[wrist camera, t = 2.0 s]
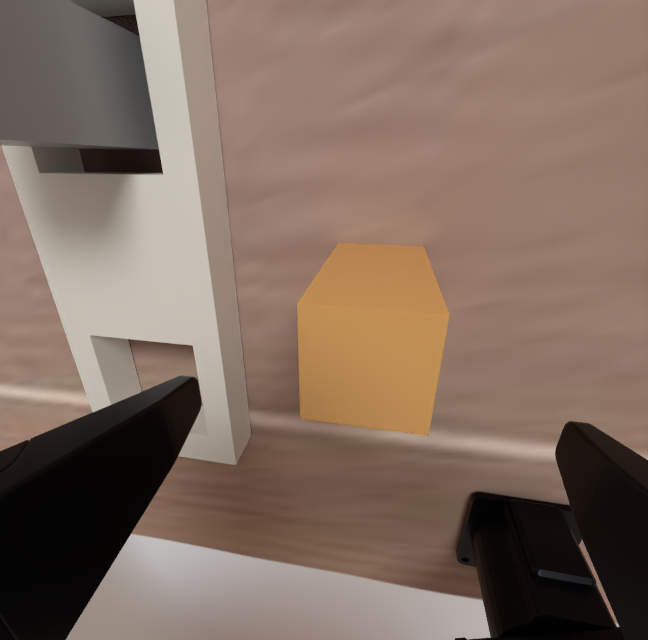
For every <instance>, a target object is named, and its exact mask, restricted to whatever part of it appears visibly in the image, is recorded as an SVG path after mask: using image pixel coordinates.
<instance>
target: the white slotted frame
mask: <svg viewBox="0 0 648 640" xmlns="http://www.w3.org/2000/svg"><path fill="white" fill-rule="evenodd" d="M69 1H71V2H73V3H75V4H77V5H78V6H80V7H82V8H84V9H86V10H88V11H90V12H92V13H94V14H96V15H98V16H100V17H108V16H123V15H136V18H137V24H138V30H139V36H140V42H141V47H142V53H143V59H144V65H145V71H146V77H147V82H148V88H149V94H150V100H151V106H152V111H153V117H154V123H155V129H156V135H157V141H158V146H159V152H160V158H161V164H162V170H163V173H131V172H85V170H84V167H83V163H82V159H81V155H80V151H79V149H70V148H48V147H27V146H5V145H1V146H2V149H3V152H4V155H5V158H6V160H7V163H8V166H9V169H10V172H11V175H12V178H13V181H14V184H15V187H16V190H17V193H18V196H19V198H20V201H21V204H22V207H23V210H24V213H25V216H26V219H27V222H28V225H29V228H30V231H31V234H32V237H33V239H34V242H35V245H36V248H37V251H38V254H39V257H40V260H41V263H42V266H43V269H44V272H45V275H46V278H47V280H48V283H49V286H50V289H51V292H52V295H53V298H54V301H55V304H56V307H57V310H58V313H59V316H60V319H61V321H62V324H63V327H64V330H65V333H66V336H67V339H68V342H69V345H70V348H71V351H72V354H73V357H74V360H75V362H76V365H77V368H78V371H79V374H80V377H81V380H82V383H83V386H84V389H85V392H86V395H87V398H88V401H89V403H90V406H91V409H92V412H95V411H97V410H100V409H102V408H105V407H107V406H109V405H112V404H114V403H116V402H119V401H121V400H124V399H126V398H128V397H131V396H133V395H135V394H138V393H140V392H142V391H141V387H140V383H139V379H138V375H137V371H136V368H135V364H134V360H133V356H132V352H131V348H130V344H129V340H128V339H133V340H142V341H152V342H162V343H172V344H182V345H192V346H193V350H194V356H195V362H196V367H197V373H198V379H199V385H200V391H201V397H202V402H203V406H202V405H201V410H200V412H199V414H198V416H197V418H196V420H195V423H194V425H193V427H192V429H191V431H190V433H189V435H188V437H187V439H186V441H185V443H184V445H183V447H182V449H181V451H180V453H179V455H178V456H181V457H187V458H193V459H200V460H206V461H212V462H219V463H225V464H231V465H236V464H237V462H238V460H239V459H240V457H241V455H242V453H243V451H244V449H245V447H246V445H247V443H248V441H249V439H250V437H251V427H250V418H249V408H248V398H247V389H246V379H245V369H244V360H243V350H242V341H241V331H240V321H239V312H238V302H237V292H236V283H235V273H234V264H233V254H232V244H231V235H230V225H229V215H228V206H227V196H226V187H225V177H224V167H223V158H222V148H221V138H220V129H219V119H218V109H217V100H216V90H215V81H214V71H213V61H212V52H211V42H210V32H209V23H208V13H207V4H206V0H69Z"/></svg>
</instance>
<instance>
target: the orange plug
mask: <svg viewBox="0 0 648 640" xmlns="http://www.w3.org/2000/svg"><path fill="white" fill-rule="evenodd" d="M297 316H298V354H299V392H300V419H306V420H313V421H321V422H328V423H336V424H344V425H351V426H359V427H366V428H374V429H381V430H389V431H397V432H404V433H412V434H419V435H427V436H428V435H429V429H430V423H431V418H432V412H433V406H434V401H435V395H436V389H437V383H438V378H439V372H440V366H441V361H442V355H443V349H444V343H445V338H446V332H447V326H448V321H449V312H448V310H447V307H446V304H445V302H444V299H443V296H442V294H441V291H440V288H439V286H438V283H437V280H436V278H435V275H434V272H433V270H432V267H431V264H430V262H429V259H428V256H427V254H426V251H425V248H424V247H414V246H392V245H371V244H350V243H338V245H337V246H336V247H335V249H334V250H333V252H332V253H331V255H330V256H329V258H328V259H327V261H326V262H325V264H324V265H323V266H322V268H321V269H320V271H319V272H318V274H317V275H316V277H315V278H314V280H313V281H312V282H311V284H310V285H309V287H308V288H307V290H306V291H305V293H304V294H303V296H302V297H301V299H300V300H299V301H298V303H297Z"/></svg>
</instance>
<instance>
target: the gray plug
mask: <svg viewBox="0 0 648 640" xmlns="http://www.w3.org/2000/svg"><path fill="white" fill-rule="evenodd" d="M0 145H5V146H27V147H48V148H70V149H91V150H159V146H158V141H157V135H156V129H155V123H154V117H153V111H152V106H151V100H150V94H149V88H148V82H147V77H146V71H145V65H144V59H143V53H142V47H141V42H140V36H138V35H136V34H134V33H132V32H130V31H128V30H126V29H124V28H122V27H120V26H118V25H116V24H114V23H112V22H110V21H108V20H106V19H104V18H102V17H100V16H98V15H96V14H94V13H92V12H90V11H88V10H86V9H84V8H82V7H80V6H78V5H77V4H75V3H73V2H71V1H69V0H0Z"/></svg>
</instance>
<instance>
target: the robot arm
mask: <svg viewBox="0 0 648 640" xmlns="http://www.w3.org/2000/svg"><path fill="white" fill-rule="evenodd" d="M200 410H201V396H200V390H199V384H198V380H197V379H196V378H195V377H191V376H178V377H176V378H173V379H171V380H169V381H166V382H164V383H162V384H159V385H157V386H154V387H152V388H150V389H147V390H145V391H143V392H140V393H138V394H135V395H133V396H131V397H128V398H126V399H124V400H121V401H119V402H116V403H114V404H112V405H109V406H107V407H105V408H102V409H100V410H97V411H95V412H93V413H90V414H88V415H86V416H83V417H81V418H78V419H76V420H74V421H71V422H69V423H67V424H64V425H62V426H59V427H57V428H55V429H52V430H50V431H48V432H45V433H43V434H40V435H38V436H36V437H33V438H31V440H30V441H29V440H26V441H24V442H21V443H19V444H17V445H14V446H12V447H9V448H7V449H5V450H2V451H0V640H65V639H66V638H67V636H68V635H69V633H70V631H71V630H72V628H73V627H74V625H75V623H76V622H77V620H78V618H79V617H80V615H81V614H82V612H83V610H84V609H85V607H86V606H87V604H88V602H89V601H90V599H91V597H92V596H93V594H94V592H95V591H96V589H97V588H98V586H99V585H100V583H101V581H102V580H103V578H104V576H105V575H106V573H107V571H108V570H109V568H110V567H111V565H112V563H113V562H114V560H115V558H116V557H117V555H118V554H119V552H120V550H121V549H122V547H123V546H124V544H125V542H126V541H127V539H128V538H129V536H130V534H131V533H132V531H133V530H134V528H135V526H136V525H137V523H138V521H139V520H140V518H141V517H142V515H143V513H144V512H145V510H146V508H147V507H148V505H149V504H150V502H151V500H152V499H153V497H154V496H155V494H156V492H157V491H158V489H159V487H160V486H161V484H162V483H163V481H164V479H165V478H166V476H167V474H168V473H169V471H170V470H171V468H172V466H173V464H174V463H175V461H176V459H177V457H178V455H179V453H180V451H181V449H182V447H183V445H184V443H185V441H186V439H187V437H188V435H189V433H190V431H191V429H192V427H193V425H194V423H195V420H196V418H197V416H198V414H199V412H200ZM555 456H556V461H557V464H558V467H559V471H560V474H561V477H562V480H563V484H564V487H565V490H566V493H567V496H568V500H569V503H570V506H567V505H561V504H554V503H548V502H541V501H534V500H528V499H521V498H515V497H508V496H502V495H495V494H489V493H482V492H478V493H475V494H473V495H472V497H471V500H470V504H469V508H468V511H467V515H466V519H465V523H464V526H463V530H462V534H461V537H460V541H459V545H458V549H457V552H456V553H457V560H458V562H459V563H461V564H464V565H470V566H475V567H476V568H477V573H478V578H479V583H480V588H481V592H482V597H483V602H484V607H485V612H486V617H487V621H488V626H489V631H490V636H491V638H482V639H470V640H648V460H647V459H645V458H643V457H642V456H640V455H639V454H637V453H635V452H634V451H632V450H631V449H629V448H628V447H626V446H624V445H623V444H621V443H620V442H618V441H616V440H615V439H613V438H612V437H610V436H609V435H607V434H605V433H604V432H602V431H601V430H599V429H597V428H596V427H594V426H593V425H591V424H588V423H582V422H573V421H570V422H567V423H566V424H565V426H564V428H563V431H562V433H561V436H560V439H559V441H558V444H557V447H556V451H555ZM581 540H583V542H584V544H585V547H586V549H587V551H588V554H589V556H590V559H591V561H592V563H593V566H594V568H595V570H596V573H597V575H598V577H599V580H600V582H601V584H602V587H603V589H604V591H605V594H606V596H607V598H608V601H609V603H610V605H611V608H612V610H613V612H614V615H615V617H616V619H617V622H618V624H619V626H620V627H617V626H616V624H615V622H614V620H613V618H612V616H611V614H610V612H609V610H608V608H607V606H606V604H605V602H604V600H603V598H602V596H601V593H600V591H599V589H598V587H597V585H596V580H595V578H594V576H593V574H592V571H591V569H590V567H589V565H588V563H587V561H586V559H585V557H584V555H583V553H582V551H581V549H580V547H579V544H580V542H581ZM455 640H467V639H466V638H456V639H455Z"/></svg>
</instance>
